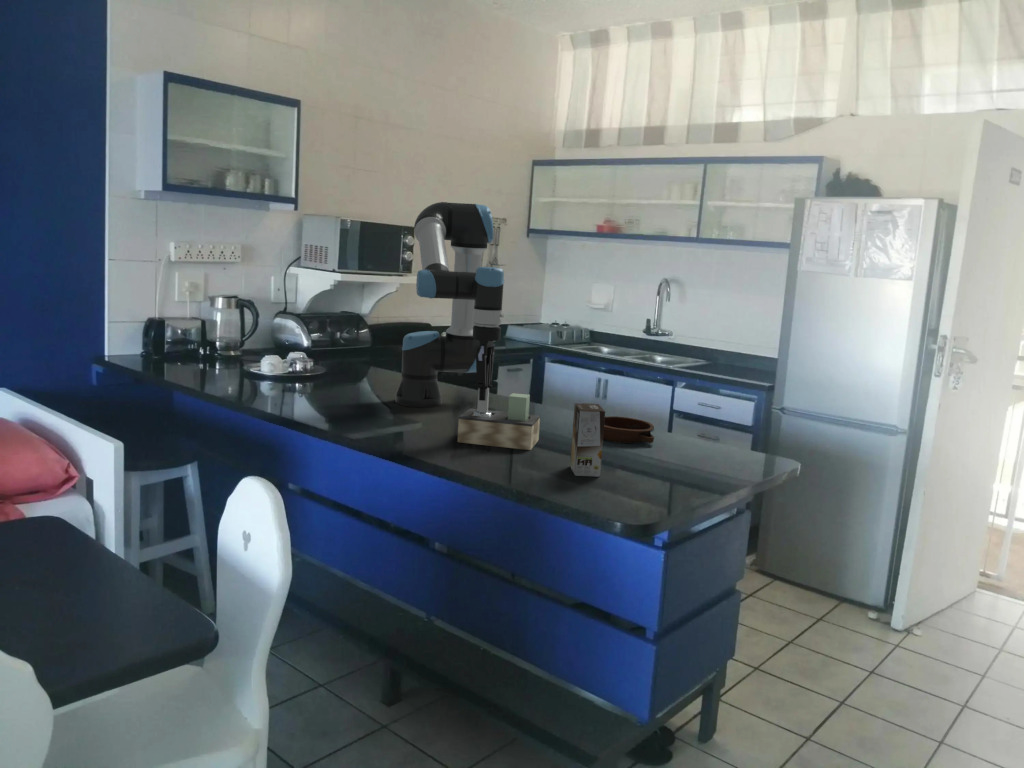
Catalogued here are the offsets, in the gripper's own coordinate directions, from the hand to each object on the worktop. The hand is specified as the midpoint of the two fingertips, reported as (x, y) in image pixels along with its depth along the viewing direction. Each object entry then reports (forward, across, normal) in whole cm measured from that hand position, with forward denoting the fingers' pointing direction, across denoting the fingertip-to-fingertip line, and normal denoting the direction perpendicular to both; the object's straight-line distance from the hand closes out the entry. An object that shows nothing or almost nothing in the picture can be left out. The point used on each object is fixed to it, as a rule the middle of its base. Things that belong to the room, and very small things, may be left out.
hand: (482, 411), depth 226 cm
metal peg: (+8, 0, 0) cm, 8 cm away
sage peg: (+2, 0, -10) cm, 10 cm away
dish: (+8, +19, -37) cm, 42 cm away
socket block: (+8, 0, -5) cm, 9 cm away
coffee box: (+8, -20, -31) cm, 38 cm away
